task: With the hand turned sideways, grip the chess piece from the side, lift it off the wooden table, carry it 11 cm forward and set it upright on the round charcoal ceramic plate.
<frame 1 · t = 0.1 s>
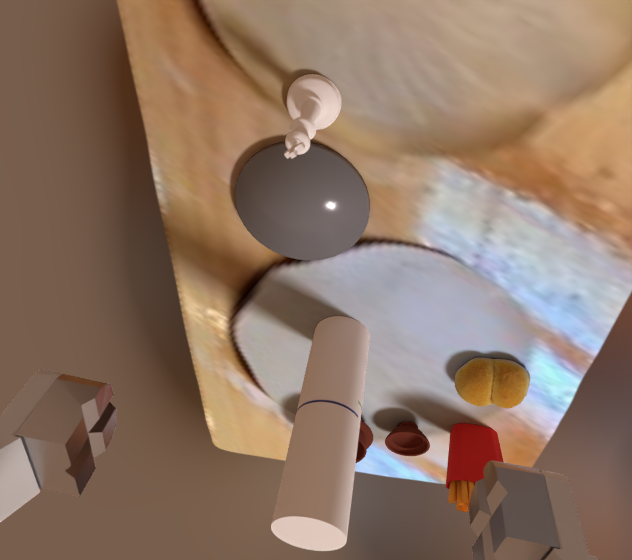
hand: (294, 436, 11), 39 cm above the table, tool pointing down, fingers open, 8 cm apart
pottery: (362, 422, 79), on the table
french fries: (475, 431, 76), on the table
chess piece: (314, 100, 47), on the table
cylindrical container: (342, 334, 67), on the table
charcoal plate: (302, 203, 54), on the table
bread roll: (491, 373, 67), on the table
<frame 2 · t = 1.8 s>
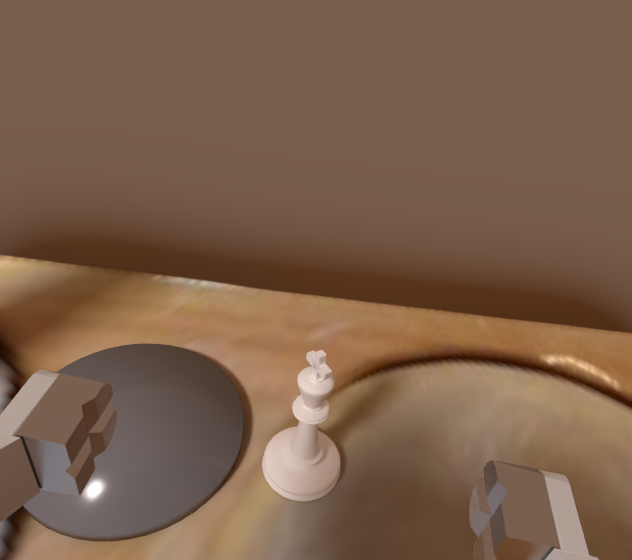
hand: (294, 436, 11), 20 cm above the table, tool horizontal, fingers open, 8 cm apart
chess piece: (301, 466, 33), on the table
charcoal plate: (132, 430, 33), on the table
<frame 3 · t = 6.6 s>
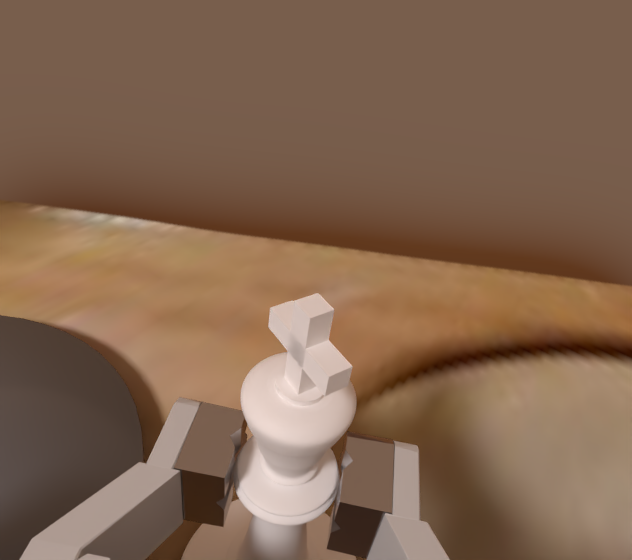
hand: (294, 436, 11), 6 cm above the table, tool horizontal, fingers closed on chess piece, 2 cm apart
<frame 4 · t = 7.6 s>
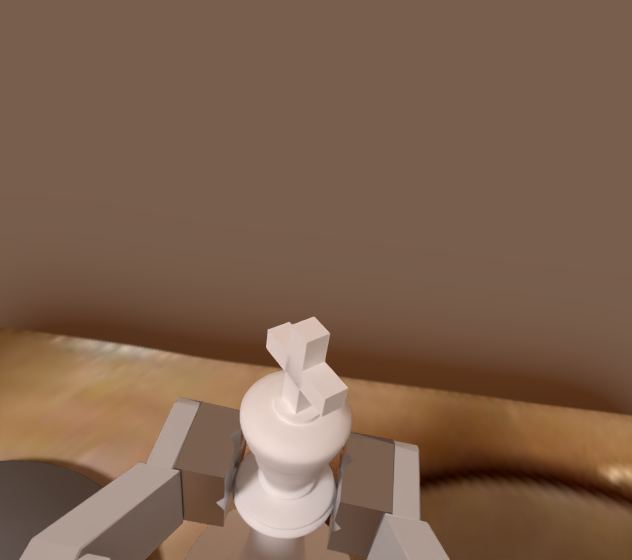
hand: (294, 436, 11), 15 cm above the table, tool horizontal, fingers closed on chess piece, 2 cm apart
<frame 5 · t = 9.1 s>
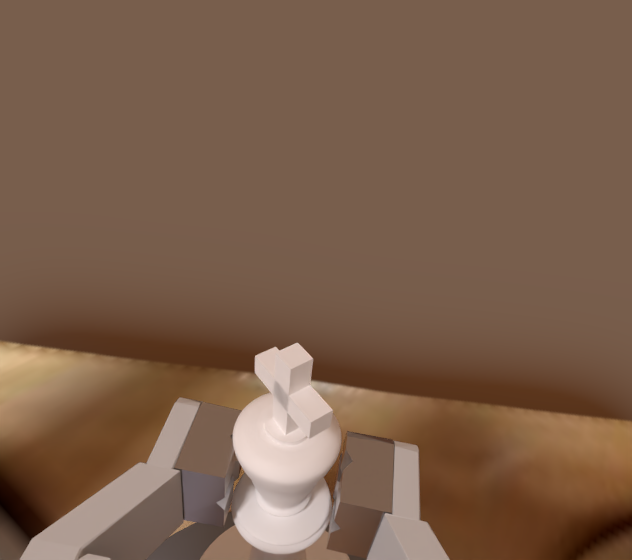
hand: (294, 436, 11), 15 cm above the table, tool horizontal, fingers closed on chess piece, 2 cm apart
when the fingers open (8 cm above the table, at t = 10.5 s): chess piece stays where it is, resting on charcoal plate.
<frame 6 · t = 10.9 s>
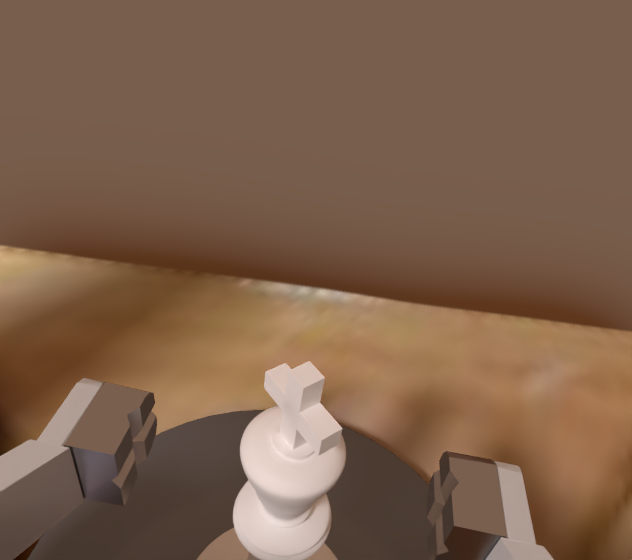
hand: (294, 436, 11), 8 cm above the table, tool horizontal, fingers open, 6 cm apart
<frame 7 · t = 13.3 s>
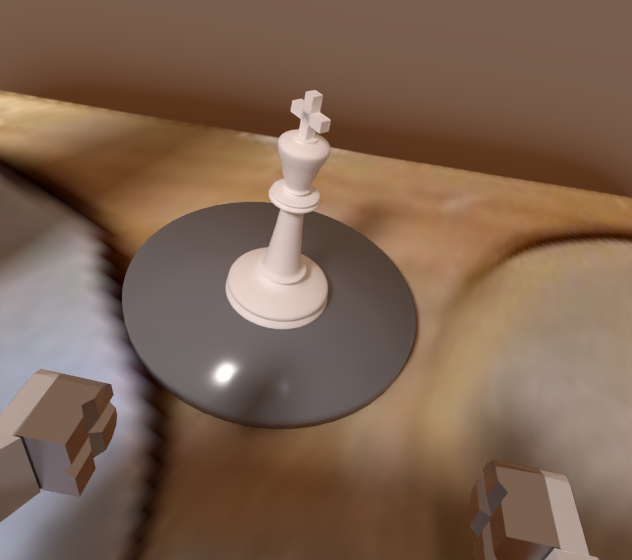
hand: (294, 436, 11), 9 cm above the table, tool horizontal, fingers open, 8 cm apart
chess piece: (276, 293, 25), point 1 cm above the table, touching charcoal plate
charcoal plate: (273, 300, 26), on the table
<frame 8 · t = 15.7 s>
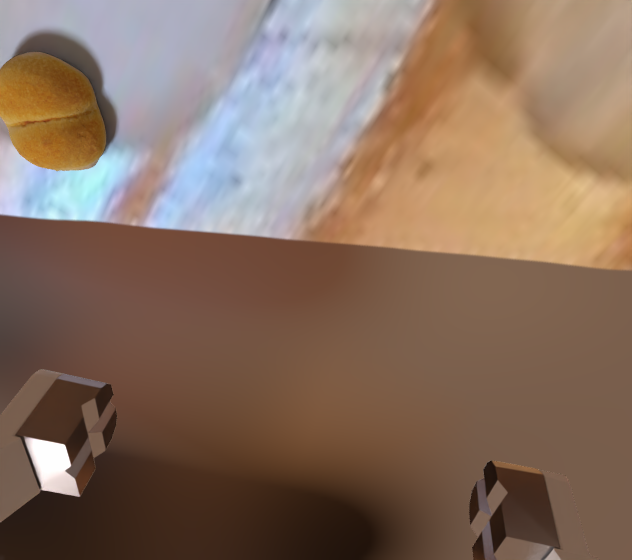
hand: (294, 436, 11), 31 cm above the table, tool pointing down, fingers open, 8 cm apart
bread roll: (62, 110, 42), on the table
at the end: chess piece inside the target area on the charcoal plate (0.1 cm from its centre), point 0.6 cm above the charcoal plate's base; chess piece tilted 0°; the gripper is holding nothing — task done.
